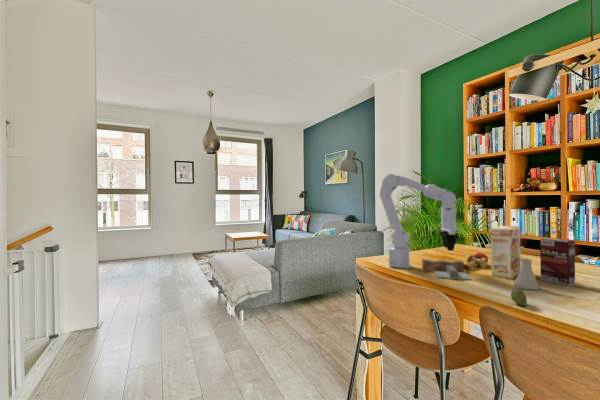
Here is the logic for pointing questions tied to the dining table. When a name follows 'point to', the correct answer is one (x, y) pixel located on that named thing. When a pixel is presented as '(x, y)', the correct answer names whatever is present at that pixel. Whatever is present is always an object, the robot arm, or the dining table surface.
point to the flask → (526, 276)
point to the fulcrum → (451, 274)
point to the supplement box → (557, 261)
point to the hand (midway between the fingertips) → (448, 248)
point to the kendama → (476, 261)
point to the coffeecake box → (505, 251)
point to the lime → (519, 296)
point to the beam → (441, 265)
